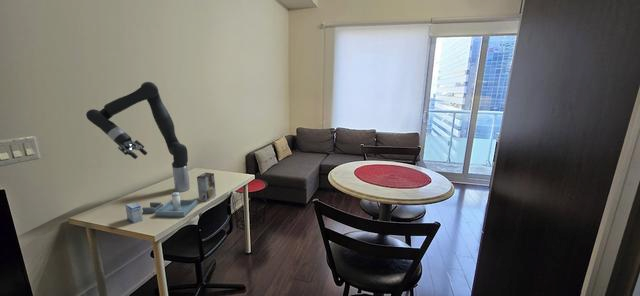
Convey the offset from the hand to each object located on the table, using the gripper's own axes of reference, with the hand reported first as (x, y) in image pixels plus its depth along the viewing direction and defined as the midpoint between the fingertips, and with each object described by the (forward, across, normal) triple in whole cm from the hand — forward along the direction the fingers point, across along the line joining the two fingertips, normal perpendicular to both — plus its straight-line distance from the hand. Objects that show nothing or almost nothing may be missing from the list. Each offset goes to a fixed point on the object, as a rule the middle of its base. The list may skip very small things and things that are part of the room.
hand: (141, 156), depth 159 cm
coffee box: (+45, +10, -1) cm, 46 cm away
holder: (+27, -8, +16) cm, 33 cm away
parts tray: (+38, -8, +6) cm, 39 cm away
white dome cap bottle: (+37, -8, +5) cm, 38 cm away
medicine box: (+26, -20, +18) cm, 37 cm away
